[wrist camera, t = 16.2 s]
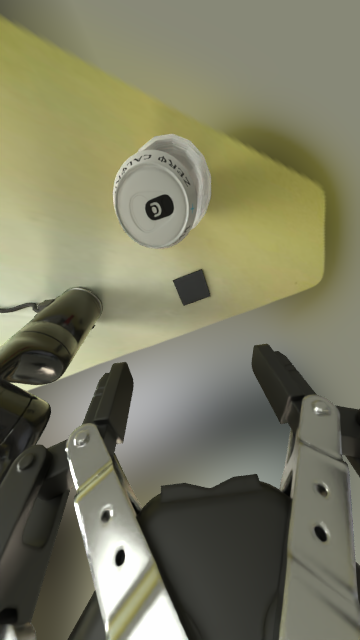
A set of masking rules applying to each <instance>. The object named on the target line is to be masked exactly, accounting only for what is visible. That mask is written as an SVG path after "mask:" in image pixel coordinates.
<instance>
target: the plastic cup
mask: <svg viewBox="0 0 360 640" xmlns="http://www.w3.org/2000/svg"><path fill="white" fill-rule="evenodd" d="M144 150H158V151H162V152H166V153H168V154H169V155H171V156H173V157H175V158H176V159H177V160H178V161H179V162H180V163H182V165H183V166H184V167H185V168H186V170H187V171H188V173H189V175H190V176H191V178H192V180H193V183H194V186H195V190H196V195H197V213H196V217H195V221H194V223H193V226H192V228H191V229H193V228H195V227H196V225H197V224H198V223H199V222H200V220H201V219H202V218H203V216H204V215H205V214H206V210H207V207H208V204H209V201H210V198H211V175H210V172H209V169H208V166H207V163H206V161H205V158H204V156H203V155H202V153H201V152H200V151H199V150H198V149H197V148H196V147H195V145H194V144H193V143H192V142H191V141H189V140H187V139H185V138H182V137H180V136H177V135H175V134H168V135H161V136H155V137H153V138H152V139H151V140H150V141H148V142H147V143H146V144H145V145H143V146H142V147H141V148H140V149H139V151H138V152H141V151H144Z"/></svg>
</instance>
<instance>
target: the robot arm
mask: <svg viewBox="0 0 360 640" xmlns="http://www.w3.org/2000/svg"><path fill="white" fill-rule="evenodd" d="M29 306H32V307H33V310H34V311H35V312H37V313H38V314H36V315H35V316H34V319H32V320H31V321H30V322H29V323H28V324H26V325H25V326H24V327H23V328H22V329H21V330H19V331H18V332H17V333H16V334H15V335H13V336H12V337H11V338H10V339H9V340H7V341H6V342H5V343H4V344H3V345H2V346H1V347H0V640H36V633H35V629H34V627H33V626H32V624H30V623H31V619H32V616H33V613H34V609H35V606H36V603H37V599H38V596H39V593H40V589H41V586H42V582H43V579H44V576H45V572H46V569H47V566H48V563H49V559H50V556H51V552H52V549H53V546H54V542H55V539H56V536H57V532H58V529H59V526H60V522H61V519H62V516H63V512H64V509H65V505H66V502H67V499H68V495H69V492H70V489H71V488H73V487H75V486H76V490H77V494H76V496H75V498H74V503H75V508H76V512H77V516H78V520H79V524H80V528H81V532H82V537H83V541H84V545H85V549H86V552H87V557H88V561H89V565H90V569H91V573H92V577H93V581H94V585H95V589H96V590H95V591H94V593H93V595H92V597H91V599H90V600H89V602H88V604H87V606H86V607H85V610H84V611H83V613H82V615H81V616H80V618H79V620H78V622H77V624H76V625H75V627H74V629H73V631H72V632H71V634H70V636H69V638H68V640H360V565H359V564H358V563H356V562H355V550H354V534H353V520H352V505H351V490H350V475H349V468H348V465H347V463H346V462H344V461H343V459H342V455H345V456H346V457H347V459H348V460H349V462H350V463H351V465H352V466H353V468H354V469H355V471H356V472H357V474H358V475H359V477H360V409H359V410H358V409H352V408H346V407H340V406H336V405H334V404H333V403H332V402H331V401H329V400H328V399H326V398H324V397H322V396H319V395H317V394H316V393H315V392H314V391H313V390H312V388H311V387H310V386H309V385H308V383H307V382H306V381H305V380H304V378H303V377H302V376H301V375H300V373H299V372H298V371H297V370H296V368H295V367H294V366H293V365H292V363H291V362H290V361H289V360H288V358H287V357H286V356H285V355H283V354H281V353H280V352H279V351H275V352H274V351H273V350H272V348H271V347H270V346H269V345H268V344H262V345H255V346H254V349H253V357H252V369H253V372H254V374H255V376H256V378H257V380H258V382H259V384H260V385H261V387H262V389H263V391H264V393H265V395H266V397H267V399H268V401H269V403H270V405H271V407H272V408H273V410H274V412H275V414H276V416H277V418H278V420H279V422H280V424H285V423H288V424H289V426H290V427H291V431H290V436H289V443H288V449H287V456H286V462H285V467H284V472H283V475H282V479H281V484H280V490H279V489H277V488H276V487H273V486H272V485H270V484H267V483H264V482H261V481H259V478H258V476H257V474H253V475H246V476H237V477H233V478H230V479H228V480H226V481H224V482H222V483H220V484H219V485H217V486H215V487H213V488H205V487H201V486H196V485H191V484H187V483H181V484H173V485H165V486H161V493H160V494H158V495H157V496H156V497H154V498H152V499H151V500H150V501H149V502H148V503H147V504H146V505H145V506H144V507H143V508H142V507H141V505H140V503H139V501H138V499H137V497H136V495H135V493H134V491H133V490H132V488H131V486H130V484H129V482H128V480H127V478H126V476H125V474H124V472H123V470H122V467H121V466H120V463H119V461H118V459H117V457H116V455H115V453H114V451H115V447H116V444H121V443H123V441H124V435H125V430H126V424H127V419H128V413H129V407H130V402H131V397H132V392H133V378H132V375H131V373H130V370H129V367H128V365H127V363H126V362H122V363H114V364H113V365H112V368H111V371H110V373H105V374H104V375H103V377H102V378H101V379H100V380H99V383H98V385H97V388H96V391H95V393H94V397H93V398H92V401H91V403H90V406H89V408H88V411H87V414H86V416H85V419H84V421H83V423H82V425H81V426H79V427H78V428H76V430H74V431H73V432H72V434H71V435H70V436H69V438H68V439H67V440H65V441H63V442H60V443H58V444H56V445H54V446H52V447H50V448H47V449H46V448H45V447H44V446H43V445H36V444H37V442H38V440H39V439H40V437H41V435H42V433H43V431H44V429H45V427H46V425H47V423H48V421H49V418H50V414H51V407H50V405H49V404H48V403H47V402H45V401H44V400H42V399H40V398H39V397H37V396H34V395H33V394H31V393H29V392H27V391H25V390H23V389H21V388H19V387H17V386H15V385H13V384H11V383H22V384H30V385H43V384H48V383H52V382H54V381H56V380H58V379H59V378H60V377H61V376H62V375H63V374H64V372H65V371H66V369H67V367H68V366H69V364H70V363H71V361H72V359H73V358H74V356H75V355H76V353H77V351H78V350H79V348H80V346H81V345H82V343H83V342H84V340H85V339H86V337H87V335H88V334H89V332H90V331H91V329H93V328H94V326H95V325H94V324H95V323H96V321H97V319H98V318H99V317H100V315H101V313H102V304H101V302H100V300H99V298H98V297H97V296H96V295H95V294H94V293H92V292H91V291H89V290H87V289H84V288H78V287H75V288H70V289H68V290H66V291H65V292H64V293H63V294H62V295H61V296H58V297H57V298H56V299H52V300H45V301H44V302H42V303H41V304H40V305H38V306H37V305H36V304H35V303H26V304H22V305H19V306H17V307H14V308H10V309H0V313H8V312H13V311H16V310H19V309H22V308H25V307H29ZM37 307H38V309H37ZM9 382H11V383H9Z"/></svg>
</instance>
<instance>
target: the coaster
mask: <svg viewBox="0 0 360 640" xmlns="http://www.w3.org/2000/svg"><path fill="white" fill-rule="evenodd" d="M173 282H174V284H175V287H176V289H177V291H178V294H179V296H180V298H181V301H182V303H183V306H185V305H187V304H190V303H193V302H195V301H198V300H201V299H204V298H206V297H209V296H210V293H209V290H208V287H207V284H206V281H205V278H204V275H203V272H202V269H201V270H199V271H196V272H194V273H191V274H188V275H186V276H183V277H181V278H178V279H176V280H173Z"/></svg>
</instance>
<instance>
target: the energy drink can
mask: <svg viewBox="0 0 360 640" xmlns="http://www.w3.org/2000/svg"><path fill="white" fill-rule="evenodd" d="M113 203H114V208H115V212H116V215H117V217H118V220H119V223H120V225H121V226H122V228H123V230H124V231H125V232H126V233H127V235H128V236H129V237H130V238H131V239H132V240H134V241H135V242H137V243H138V244H140V245H142V246H145V247H148V248H154V249H164V248H169V247H171V246H174V245H176V244H177V243H179V242H180V241H182V240H183V239H184V238H185V237H186V236H187V234H188V233H189V231H190V230H191V228H192V226H193V223H194V221H195V217H196V213H197V195H196V190H195V186H194V183H193V180H192V178H191V176H190V175H189V173H188V171H187V170H186V168H185V167H184V166H183V165H182V163H180V162H179V161H178V160H177V159H176V158H175V157H173V156H171V155H169V154H168V153H166V152H162V151H158V150H144V151H141V152H138V153H136V154H134V155H132V156H131V157H129V158H128V159H127V160H126V161H125V162H124V163H123V164H122V166H121V168H120V169H119V171H118V173H117V176H116V179H115V182H114V188H113Z"/></svg>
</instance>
